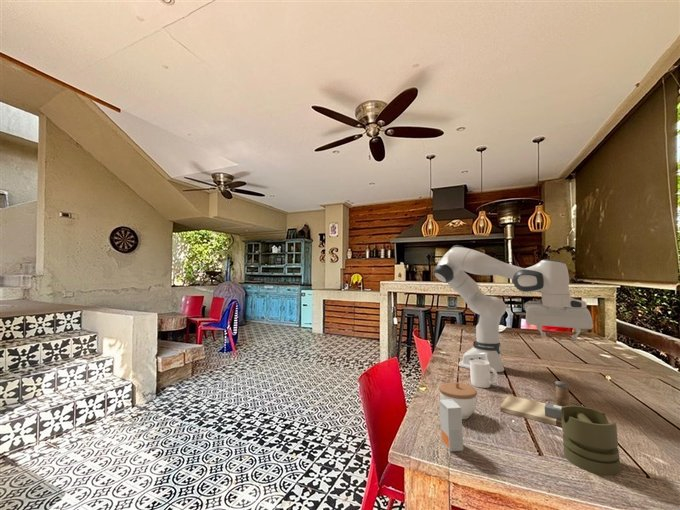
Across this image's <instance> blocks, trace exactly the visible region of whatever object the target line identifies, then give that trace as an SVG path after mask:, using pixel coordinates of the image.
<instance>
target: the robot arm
mask: <svg viewBox="0 0 680 510" xmlns="http://www.w3.org/2000/svg"><path fill="white" fill-rule="evenodd" d="M432 271H433V273H432V274H433V275H434V277H435V278H436V279H437V280H438V281H439V282H442V283H447V284H448V285H449V287H450V288H452V290H454V291H455V292H456V293H457V294H458V295H459V296H460V297H461V298H462V299H463V301H464V302H465V303H466V304H467V306H468V308H469V310H470V311H472V312H473V313H475V314H477V315H479V319H478V323H477V324H476V326H475V334H476V336H475V337H476V339H474V340H473V341H472V347H471V348H469V349H468V350H467V351H465V352H464V353H463V355H462V360H460V361H459V362H458V367H462V368H466V369H469V370H470V360H475V359H476V360H484V361H488V362H489V363H490V367H491V368H493V369H494V370H495V371H496V372H497V373H501V372H504V371H505V368H504V364H503V360H502V355H501V352H502V346H501V341H500V330H499V328H500V323H501V320H502V316H504V315H505V313H506V311H507V305H506V303H505V302H504V301H503V300H502V299H500V298H499V297H497V296H490V295H487V294H485V293H483V292H482V290H481V289H480V287H479V283H477V282H476V281H475V280H474V279H473V278H472V277H471V276H470V275H469V274H473V275H475V276H476V275H477V276H497V277H504V278H507V279H510V280H512V284H513V287H515V288H516V290H518V291H520V292H522V293H523V292H524V293H535V292H536V293H541V294H540V295H541V300H536V301H534V300H528V301H526V302H525V303H524V305H523V307H524V308H523V309H524V311H525V312H526V313H525V322H526V324H527V325H534V326H536V329H537V331H539V333H540V337H541V338H545V339H546V338H547V335H546V334H547V333H546V332H545V331H543V330H542V328H543V326H544V327H557V328H567V329H570V328H571V329H575V332H576V333H575V334H571V338H572V341H574V342H575V341H576V342H578V336H579V335H580V333H581V332H582V331H581V329H583V330H591V329H593V328H594V321H593V317H592V315H591V312H590V310H589V309H588V308H587V305H588V304H587V302H586V301H584V300H580V299H578V298H573V297H572V296H571V292H570V289H569V286H570V277H569V275H570V274H569V269H568V266H567V264H566V263H565V262H564V261H562V260H557V259H549V258H545V259H544V258H543V259H542V260H540V261H539V262H537V263H536V264H534V265H531V266H528V267H526V268H525V267H521V266H517V265H514V264H510V263H507V262H504V261H502V260H499V259H497V258H495V257H492V256H490V255H488V254H486V253H484V252H481V251H478V250H475V249H472V248H468V247H464V246H463V245H461V244H460V245H459V244H456V245H453V246H452V247H450V249H449V250H448V251H447V252H446V253H444V255H443V256H442V257H441V259H440V260H439V262H438V263H437V265H435V266H434V268H433V270H432ZM467 273H469V274H467ZM490 373H493V372H492V371H490Z"/></svg>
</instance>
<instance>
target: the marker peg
mask: <svg viewBox="0 0 680 510" xmlns="http://www.w3.org/2000/svg"><path fill="white" fill-rule="evenodd" d="M554 385H555V396H556V405H557V406H562V407H563V406H569V405H570V394H569V393H570V392H569V383H568V382H565V381H562V380H560V381H559V380H558V381H557V380H556V381H555V382H554Z"/></svg>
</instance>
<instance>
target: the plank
mask: <svg viewBox="0 0 680 510" xmlns="http://www.w3.org/2000/svg"><path fill="white" fill-rule="evenodd" d="M546 403H547V402H546ZM546 403H545V402H542V401H541V402H540V401H537V400H532V399H528V398H524V397H520V396H515V395H507V396H506V397H505V399H504V400H503V402H502V403H501V405H500V407H499V410H500V412H502V413H506V414H510V415H514V416H518V417H522V418H525V419H527V420H528V419H529V420H533V421H537V422H540V423H544V424H547V425H552V426H556V427H560V428H562V420H559V419H556V418H552V417H548V416H545V405H546Z"/></svg>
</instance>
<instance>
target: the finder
mask: <svg viewBox="0 0 680 510" xmlns="http://www.w3.org/2000/svg"><path fill="white" fill-rule="evenodd" d="M561 408H562V406H557V404H553V403H549V402H546V405H545V416H548V417H552V418H556V419H559V420H561Z"/></svg>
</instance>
